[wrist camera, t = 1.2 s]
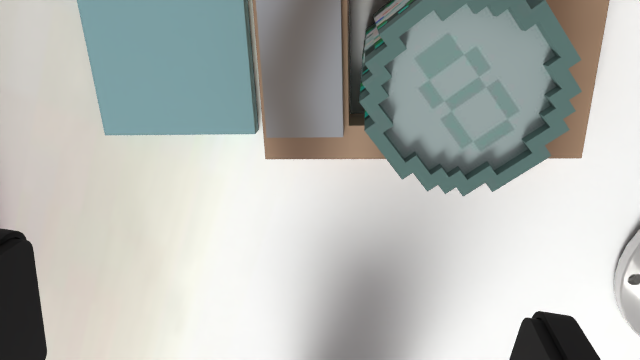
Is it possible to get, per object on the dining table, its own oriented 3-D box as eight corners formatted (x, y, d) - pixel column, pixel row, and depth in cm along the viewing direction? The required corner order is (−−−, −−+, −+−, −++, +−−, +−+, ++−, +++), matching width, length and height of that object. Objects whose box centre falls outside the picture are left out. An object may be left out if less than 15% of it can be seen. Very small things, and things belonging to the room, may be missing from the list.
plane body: (595, -77, 25) (631, -88, 21) (560, 142, 29) (586, 161, 26) (259, -60, 26) (244, -68, 23) (274, 144, 31) (263, 162, 27)
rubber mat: (244, -39, 27) (239, -41, 26) (258, 129, 31) (255, 134, 30) (80, -32, 28) (70, -33, 27) (112, 131, 32) (105, 135, 31)
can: (431, -33, 26) (505, -66, 12) (490, 55, 28) (615, 116, 14) (345, 37, 28) (323, 78, 14) (404, 116, 29) (437, 225, 15)
